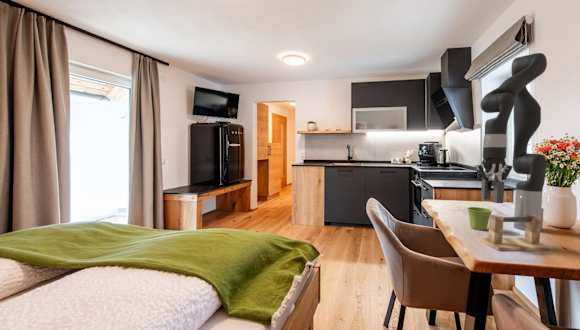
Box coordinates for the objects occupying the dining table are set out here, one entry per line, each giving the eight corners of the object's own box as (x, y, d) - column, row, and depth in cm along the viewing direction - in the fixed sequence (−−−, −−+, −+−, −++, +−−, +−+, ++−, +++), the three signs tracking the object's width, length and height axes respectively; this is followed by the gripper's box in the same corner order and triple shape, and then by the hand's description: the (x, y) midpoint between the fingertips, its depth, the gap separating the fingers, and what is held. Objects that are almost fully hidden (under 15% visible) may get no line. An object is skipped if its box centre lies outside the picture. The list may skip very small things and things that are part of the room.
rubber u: (486, 198, 121) (488, 179, 120) (503, 203, 112) (504, 182, 111) (480, 198, 121) (481, 179, 120) (496, 203, 112) (497, 181, 111)
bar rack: (527, 240, 116) (528, 212, 115) (553, 250, 105) (555, 219, 104) (476, 240, 115) (478, 212, 114) (497, 250, 104) (499, 219, 103)
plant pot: (495, 232, 126) (496, 212, 126) (470, 230, 128) (471, 210, 128) (485, 226, 135) (486, 207, 135) (462, 225, 137) (463, 206, 137)
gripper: (505, 146, 119) (502, 189, 120) (470, 146, 119) (468, 189, 120) (520, 146, 111) (517, 192, 113) (483, 146, 111) (480, 192, 112)
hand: (492, 190), depth 116 cm, fingers closed on rubber u, 2 cm apart
